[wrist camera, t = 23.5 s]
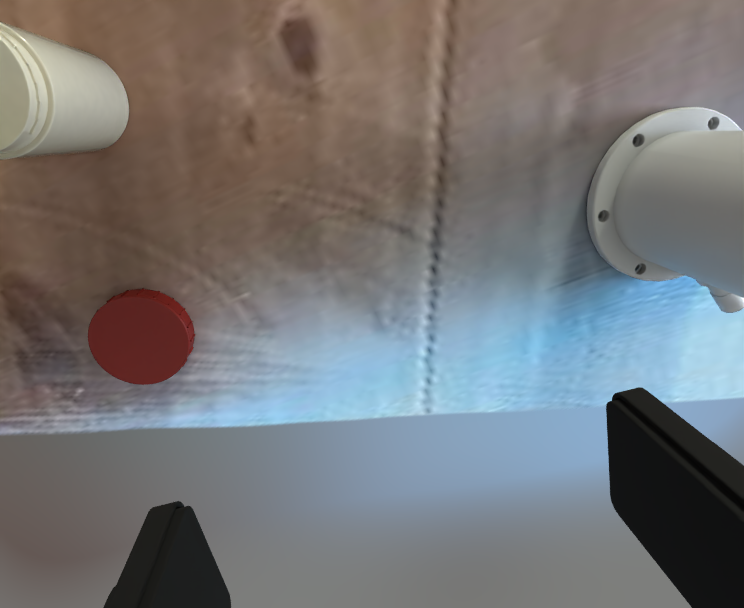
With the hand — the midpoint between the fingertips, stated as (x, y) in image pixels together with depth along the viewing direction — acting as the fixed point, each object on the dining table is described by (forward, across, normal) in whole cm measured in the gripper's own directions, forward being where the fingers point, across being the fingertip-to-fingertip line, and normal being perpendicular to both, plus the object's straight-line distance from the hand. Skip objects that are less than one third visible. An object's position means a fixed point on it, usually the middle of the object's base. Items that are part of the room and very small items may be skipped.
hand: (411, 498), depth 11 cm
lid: (+25, +16, +3) cm, 30 cm away
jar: (+26, +14, -13) cm, 32 cm away
